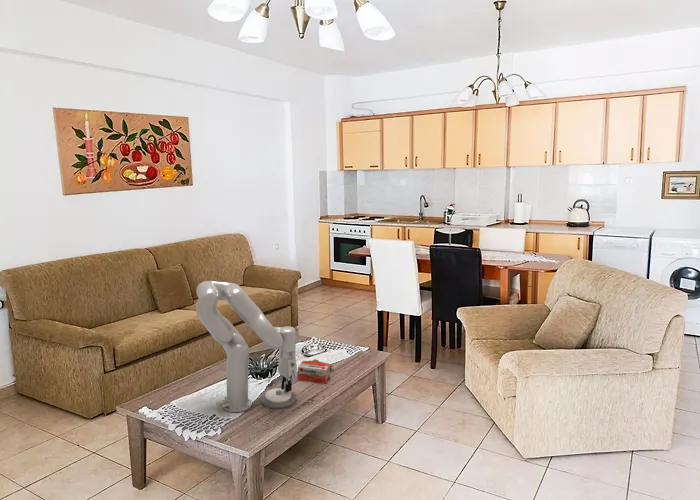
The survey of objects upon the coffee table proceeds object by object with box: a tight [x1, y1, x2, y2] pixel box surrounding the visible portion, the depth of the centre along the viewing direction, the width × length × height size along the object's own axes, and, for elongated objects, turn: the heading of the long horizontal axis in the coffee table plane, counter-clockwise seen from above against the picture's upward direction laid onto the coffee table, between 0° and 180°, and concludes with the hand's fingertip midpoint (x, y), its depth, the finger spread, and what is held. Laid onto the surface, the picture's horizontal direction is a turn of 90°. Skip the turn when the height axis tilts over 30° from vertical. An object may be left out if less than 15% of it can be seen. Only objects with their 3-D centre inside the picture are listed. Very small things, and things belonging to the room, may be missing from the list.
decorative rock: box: [311, 359, 334, 371], centre depth 277 cm, size 11×4×15 cm
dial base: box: [260, 391, 297, 410], centre depth 241 cm, size 16×16×4 cm
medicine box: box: [297, 360, 331, 385], centre depth 265 cm, size 15×8×8 cm, turn 79°
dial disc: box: [265, 381, 295, 403], centre depth 241 cm, size 14×12×6 cm
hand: (286, 389), depth 242 cm, fingers open, 2 cm apart
